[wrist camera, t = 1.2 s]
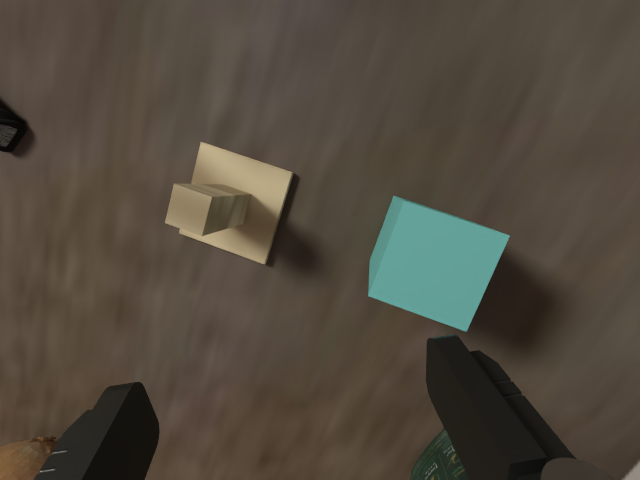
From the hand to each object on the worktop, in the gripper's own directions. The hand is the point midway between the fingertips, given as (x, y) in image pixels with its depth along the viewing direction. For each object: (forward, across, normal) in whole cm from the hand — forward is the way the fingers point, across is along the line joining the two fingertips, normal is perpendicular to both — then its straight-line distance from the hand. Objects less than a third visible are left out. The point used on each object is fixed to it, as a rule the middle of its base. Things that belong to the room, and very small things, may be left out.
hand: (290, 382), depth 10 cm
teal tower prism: (+16, -10, +4) cm, 20 cm away
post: (+21, +4, 0) cm, 21 cm away
